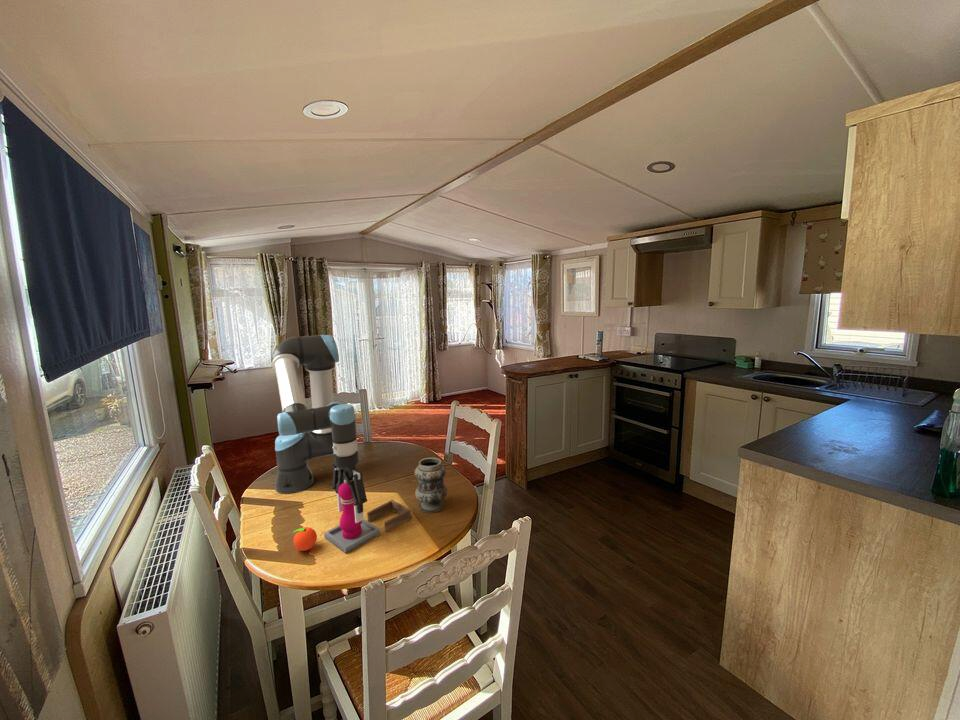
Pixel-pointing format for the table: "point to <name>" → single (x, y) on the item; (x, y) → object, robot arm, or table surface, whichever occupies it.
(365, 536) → the tray
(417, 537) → the table surface
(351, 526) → the pepper mill
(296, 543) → the clementine
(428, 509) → the apothecary jar
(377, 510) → the cubby
